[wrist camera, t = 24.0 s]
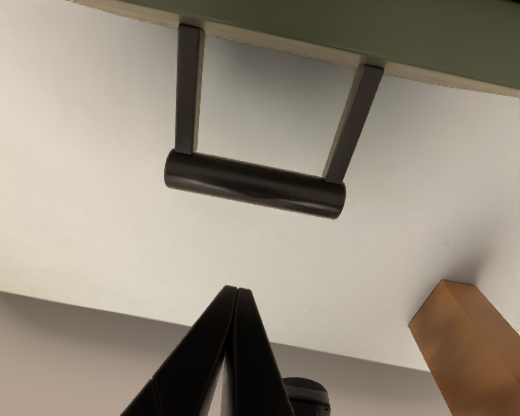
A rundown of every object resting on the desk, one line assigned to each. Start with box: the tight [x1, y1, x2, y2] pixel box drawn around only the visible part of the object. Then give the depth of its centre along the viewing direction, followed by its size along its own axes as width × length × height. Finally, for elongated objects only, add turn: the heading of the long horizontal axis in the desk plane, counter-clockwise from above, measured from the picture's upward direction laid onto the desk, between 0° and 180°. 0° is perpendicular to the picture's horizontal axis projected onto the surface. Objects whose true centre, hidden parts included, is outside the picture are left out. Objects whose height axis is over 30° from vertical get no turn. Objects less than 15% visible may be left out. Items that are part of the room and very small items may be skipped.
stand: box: [408, 280, 520, 416], centre depth 13 cm, size 5×2×13 cm, turn 169°
